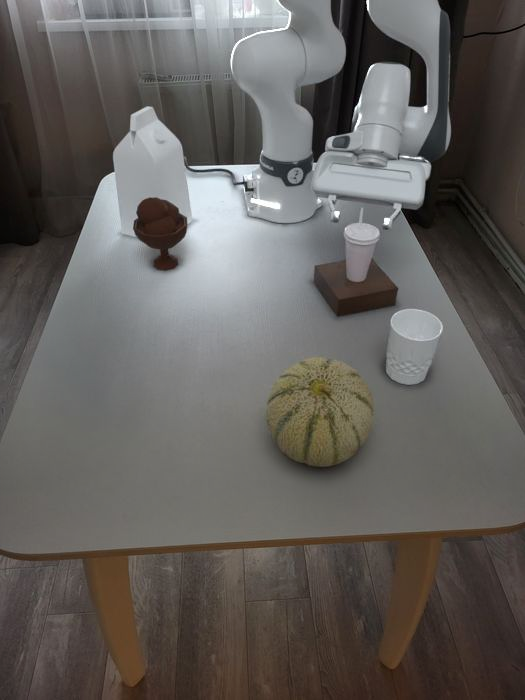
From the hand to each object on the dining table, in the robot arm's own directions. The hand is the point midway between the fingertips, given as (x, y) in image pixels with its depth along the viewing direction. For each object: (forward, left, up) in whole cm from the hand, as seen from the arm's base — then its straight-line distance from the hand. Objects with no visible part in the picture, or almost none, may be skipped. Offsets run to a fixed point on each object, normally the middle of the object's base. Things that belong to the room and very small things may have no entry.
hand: (360, 225), depth 100 cm
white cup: (+24, -1, -15) cm, 28 cm away
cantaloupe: (+34, -21, -15) cm, 42 cm away
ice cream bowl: (-21, -33, -15) cm, 42 cm away
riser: (+1, 0, -14) cm, 14 cm away
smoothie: (+1, 0, -11) cm, 11 cm away
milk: (-37, -32, -15) cm, 51 cm away
